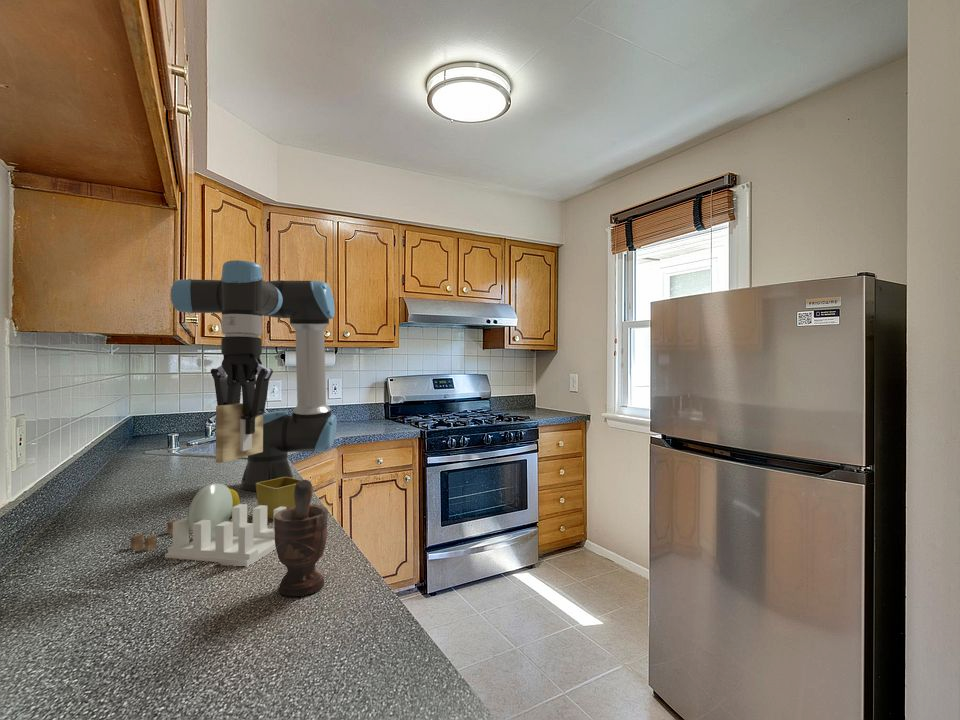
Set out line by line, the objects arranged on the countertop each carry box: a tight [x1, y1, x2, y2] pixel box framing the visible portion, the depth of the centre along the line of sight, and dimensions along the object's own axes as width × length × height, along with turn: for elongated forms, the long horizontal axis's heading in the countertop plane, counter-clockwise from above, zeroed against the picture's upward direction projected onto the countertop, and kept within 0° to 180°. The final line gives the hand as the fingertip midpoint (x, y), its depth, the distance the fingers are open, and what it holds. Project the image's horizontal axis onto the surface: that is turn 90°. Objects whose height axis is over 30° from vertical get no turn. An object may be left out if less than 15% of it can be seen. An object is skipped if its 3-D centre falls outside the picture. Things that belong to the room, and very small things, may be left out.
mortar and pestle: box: [273, 479, 329, 597], centre depth 80 cm, size 12×9×20 cm
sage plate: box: [187, 482, 233, 538], centre depth 100 cm, size 11×1×11 cm, turn 170°
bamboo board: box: [215, 402, 263, 463], centre depth 98 cm, size 12×2×11 cm, turn 168°
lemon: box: [228, 487, 241, 518], centre depth 117 cm, size 6×6×8 cm
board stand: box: [130, 519, 192, 552], centre depth 102 cm, size 11×4×3 cm, turn 170°
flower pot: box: [255, 477, 302, 520], centre depth 119 cm, size 9×9×9 cm
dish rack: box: [164, 503, 286, 568], centre depth 99 cm, size 15×18×7 cm
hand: (241, 449), depth 98 cm, fingers closed on bamboo board, 2 cm apart
